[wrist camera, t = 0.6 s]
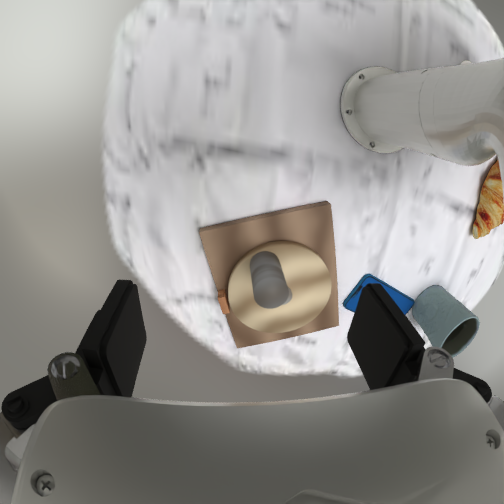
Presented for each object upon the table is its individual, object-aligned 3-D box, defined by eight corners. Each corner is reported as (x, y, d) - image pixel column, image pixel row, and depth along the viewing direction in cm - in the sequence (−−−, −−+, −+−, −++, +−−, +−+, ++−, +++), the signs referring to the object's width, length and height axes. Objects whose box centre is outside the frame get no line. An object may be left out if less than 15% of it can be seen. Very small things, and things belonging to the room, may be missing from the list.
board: (327, 200, 39) (335, 208, 36) (336, 320, 48) (342, 333, 45) (200, 228, 39) (197, 238, 36) (236, 342, 49) (237, 356, 46)
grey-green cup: (410, 292, 47) (442, 332, 37) (449, 273, 47) (484, 307, 36) (409, 328, 52) (435, 368, 41) (445, 310, 51) (474, 345, 40)
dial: (339, 300, 44) (358, 337, 36) (256, 338, 46) (261, 378, 39) (306, 222, 38) (326, 251, 30) (209, 270, 40) (204, 308, 32)
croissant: (465, 232, 47) (493, 254, 41) (458, 225, 41) (491, 250, 35) (503, 149, 38) (532, 168, 33) (501, 129, 32) (535, 149, 27)
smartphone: (393, 329, 51) (342, 307, 46) (391, 326, 52) (340, 304, 47) (416, 301, 48) (368, 273, 44) (414, 298, 49) (366, 270, 45)
